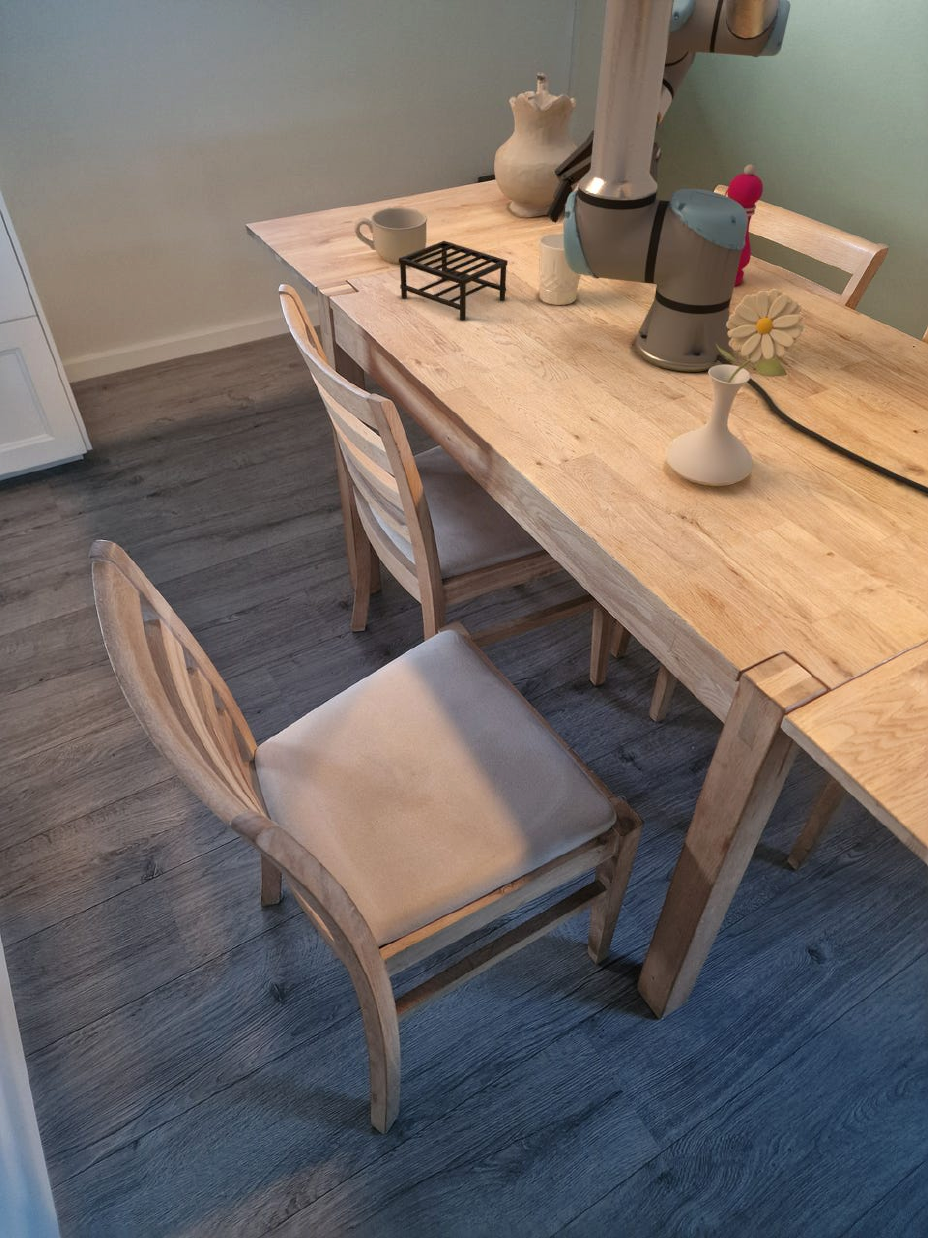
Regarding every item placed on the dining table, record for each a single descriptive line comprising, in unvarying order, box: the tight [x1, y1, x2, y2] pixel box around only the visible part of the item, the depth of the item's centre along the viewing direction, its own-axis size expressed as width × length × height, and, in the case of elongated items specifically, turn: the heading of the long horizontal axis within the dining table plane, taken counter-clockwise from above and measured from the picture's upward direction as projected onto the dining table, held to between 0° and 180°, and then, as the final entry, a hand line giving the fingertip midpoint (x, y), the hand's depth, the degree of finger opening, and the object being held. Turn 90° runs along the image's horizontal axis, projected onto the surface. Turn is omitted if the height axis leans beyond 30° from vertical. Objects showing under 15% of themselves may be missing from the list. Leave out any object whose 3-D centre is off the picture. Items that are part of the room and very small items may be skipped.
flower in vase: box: [664, 288, 805, 487], centre depth 102 cm, size 13×11×25 cm
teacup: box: [354, 206, 428, 265], centre depth 163 cm, size 14×11×8 cm
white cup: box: [538, 232, 582, 306], centre depth 149 cm, size 8×8×10 cm
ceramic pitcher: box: [493, 71, 579, 218], centre depth 181 cm, size 22×20×25 cm
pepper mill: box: [726, 164, 764, 287], centre depth 152 cm, size 7×7×20 cm
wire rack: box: [399, 240, 508, 321], centre depth 149 cm, size 15×12×7 cm
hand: (582, 226), depth 148 cm, fingers open, 13 cm apart
